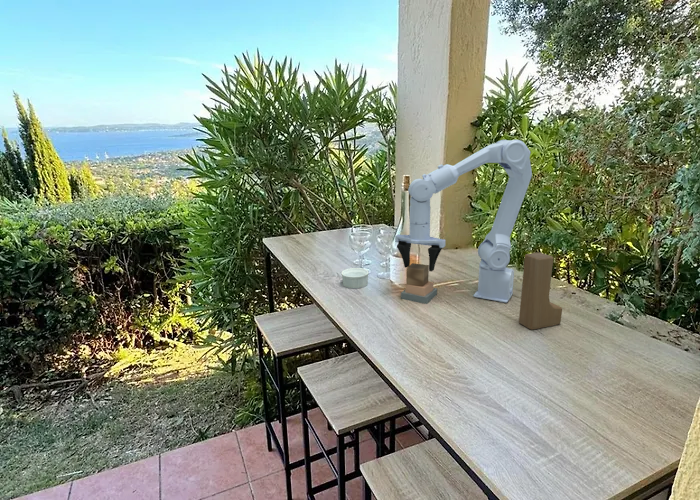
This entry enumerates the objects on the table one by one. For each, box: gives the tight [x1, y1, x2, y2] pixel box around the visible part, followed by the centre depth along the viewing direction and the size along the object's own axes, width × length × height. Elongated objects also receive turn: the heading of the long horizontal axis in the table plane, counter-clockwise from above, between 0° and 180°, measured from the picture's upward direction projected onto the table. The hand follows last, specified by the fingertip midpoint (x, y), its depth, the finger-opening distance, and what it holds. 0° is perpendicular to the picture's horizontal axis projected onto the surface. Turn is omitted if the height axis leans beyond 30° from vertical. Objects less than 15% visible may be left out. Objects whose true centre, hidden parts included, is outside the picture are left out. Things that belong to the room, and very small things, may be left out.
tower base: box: [400, 287, 438, 305], centre depth 117 cm, size 8×8×2 cm
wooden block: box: [518, 252, 563, 331], centre depth 96 cm, size 9×4×18 cm, turn 108°
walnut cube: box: [405, 262, 430, 287], centre depth 115 cm, size 5×5×5 cm
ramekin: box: [341, 267, 370, 290], centre depth 128 cm, size 9×9×4 cm
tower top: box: [404, 280, 435, 296], centre depth 116 cm, size 6×6×2 cm
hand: (419, 268), depth 115 cm, fingers open, 7 cm apart
